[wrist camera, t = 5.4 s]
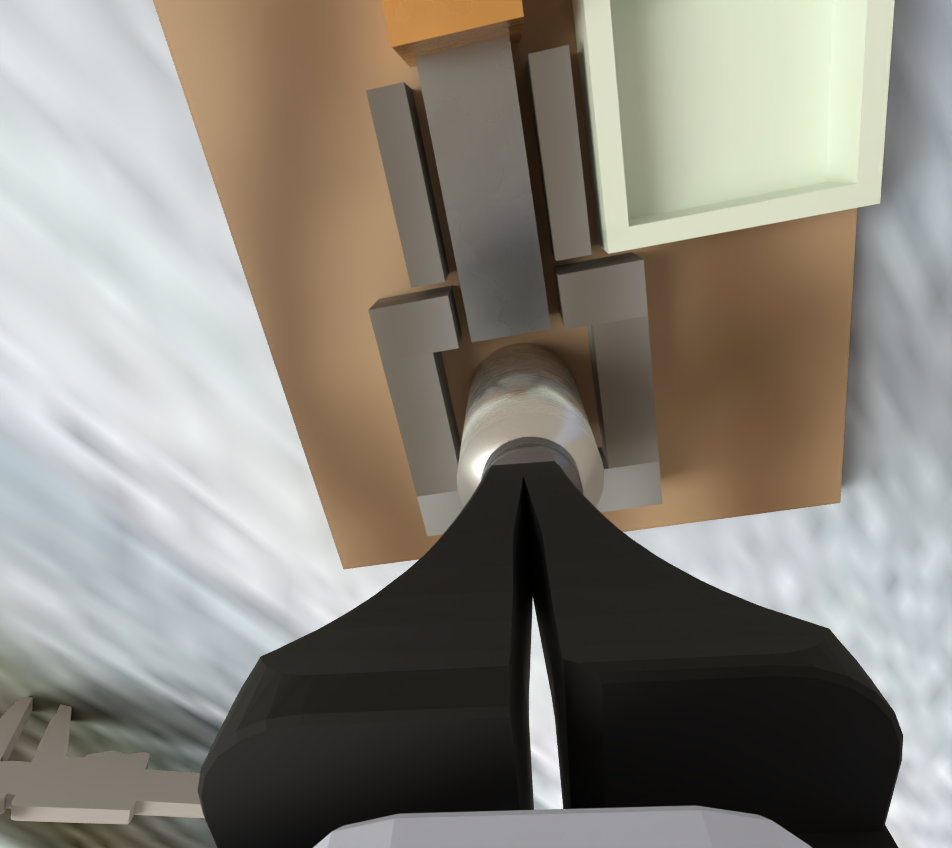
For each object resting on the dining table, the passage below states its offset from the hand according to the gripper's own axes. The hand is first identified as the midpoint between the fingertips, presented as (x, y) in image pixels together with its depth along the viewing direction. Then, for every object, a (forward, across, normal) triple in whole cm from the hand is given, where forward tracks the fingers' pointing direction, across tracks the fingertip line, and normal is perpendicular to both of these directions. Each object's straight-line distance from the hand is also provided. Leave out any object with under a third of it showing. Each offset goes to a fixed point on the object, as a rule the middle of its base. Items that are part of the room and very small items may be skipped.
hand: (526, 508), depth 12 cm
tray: (+10, -6, -7) cm, 14 cm away
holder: (+10, -1, -5) cm, 11 cm away
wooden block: (+8, +1, -7) cm, 11 cm away
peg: (+9, 0, +1) cm, 9 cm away
